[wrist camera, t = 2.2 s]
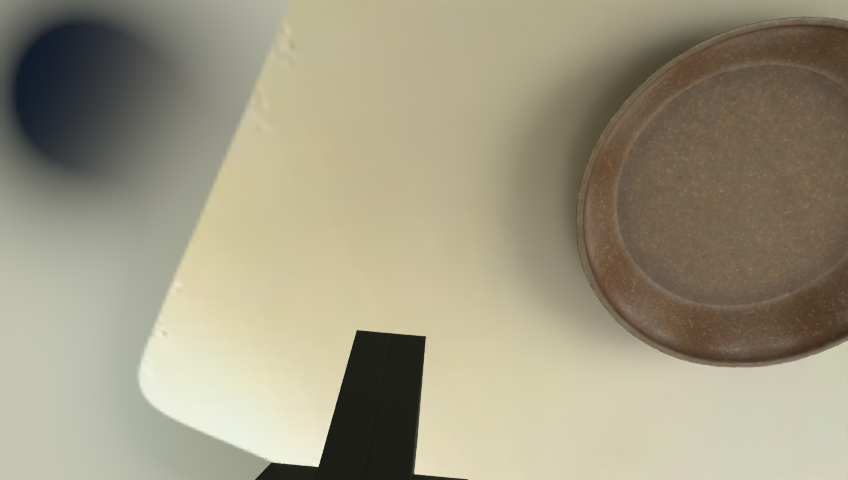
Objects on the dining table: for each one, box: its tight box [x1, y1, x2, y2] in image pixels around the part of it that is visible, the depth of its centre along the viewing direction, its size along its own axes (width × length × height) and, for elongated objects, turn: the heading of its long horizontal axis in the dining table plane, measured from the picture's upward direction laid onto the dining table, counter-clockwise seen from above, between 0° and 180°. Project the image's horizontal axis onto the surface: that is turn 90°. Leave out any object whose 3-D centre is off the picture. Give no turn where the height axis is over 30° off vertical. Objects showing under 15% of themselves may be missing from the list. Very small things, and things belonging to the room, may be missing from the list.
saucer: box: [576, 17, 848, 367], centre depth 27 cm, size 15×15×3 cm
